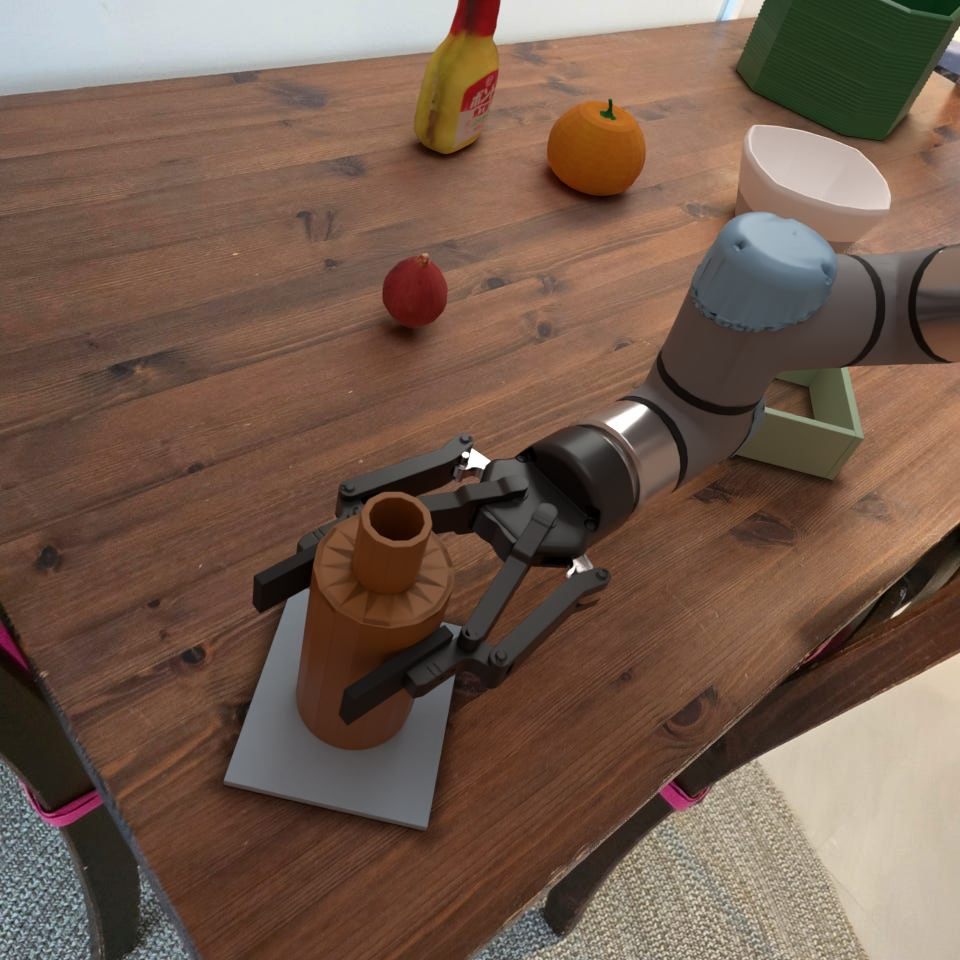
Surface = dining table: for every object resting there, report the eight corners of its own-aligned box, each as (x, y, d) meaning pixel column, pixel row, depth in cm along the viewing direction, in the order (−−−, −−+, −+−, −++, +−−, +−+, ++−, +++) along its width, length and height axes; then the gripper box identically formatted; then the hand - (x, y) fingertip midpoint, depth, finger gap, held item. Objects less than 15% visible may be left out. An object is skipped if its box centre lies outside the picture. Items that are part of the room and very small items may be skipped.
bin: (832, 480, 80) (864, 439, 76) (690, 442, 80) (715, 399, 76) (814, 384, 90) (842, 342, 86) (687, 349, 89) (709, 306, 85)
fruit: (543, 197, 102) (568, 115, 95) (536, 146, 110) (558, 66, 103) (639, 215, 105) (670, 136, 97) (625, 163, 112) (653, 87, 105)
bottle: (461, 117, 111) (498, -57, 96) (500, 141, 109) (544, -33, 94) (397, 141, 103) (427, -44, 89) (438, 167, 102) (475, -17, 87)
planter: (778, 41, 155) (830, -74, 142) (915, 105, 149) (983, -8, 136) (722, 76, 139) (775, -50, 126) (874, 151, 132) (946, 26, 119)
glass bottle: (434, 708, 56) (499, 537, 43) (341, 773, 52) (383, 606, 39) (365, 627, 59) (408, 443, 46) (273, 683, 55) (291, 499, 42)
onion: (366, 328, 80) (377, 255, 74) (394, 297, 84) (407, 225, 78) (423, 355, 80) (439, 282, 74) (449, 322, 83) (466, 251, 78)
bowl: (725, 262, 102) (761, 189, 95) (703, 182, 114) (734, 112, 107) (866, 292, 104) (912, 223, 97) (830, 211, 116) (868, 144, 109)
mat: (425, 831, 52) (427, 827, 51) (223, 784, 51) (223, 780, 50) (462, 631, 61) (464, 626, 61) (292, 589, 60) (292, 584, 60)
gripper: (685, 615, 57) (410, 835, 44) (481, 420, 65) (197, 557, 52) (734, 546, 52) (437, 773, 39) (505, 341, 59) (195, 473, 46)
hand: (300, 649), depth 45 cm, fingers closed on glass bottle, 7 cm apart
